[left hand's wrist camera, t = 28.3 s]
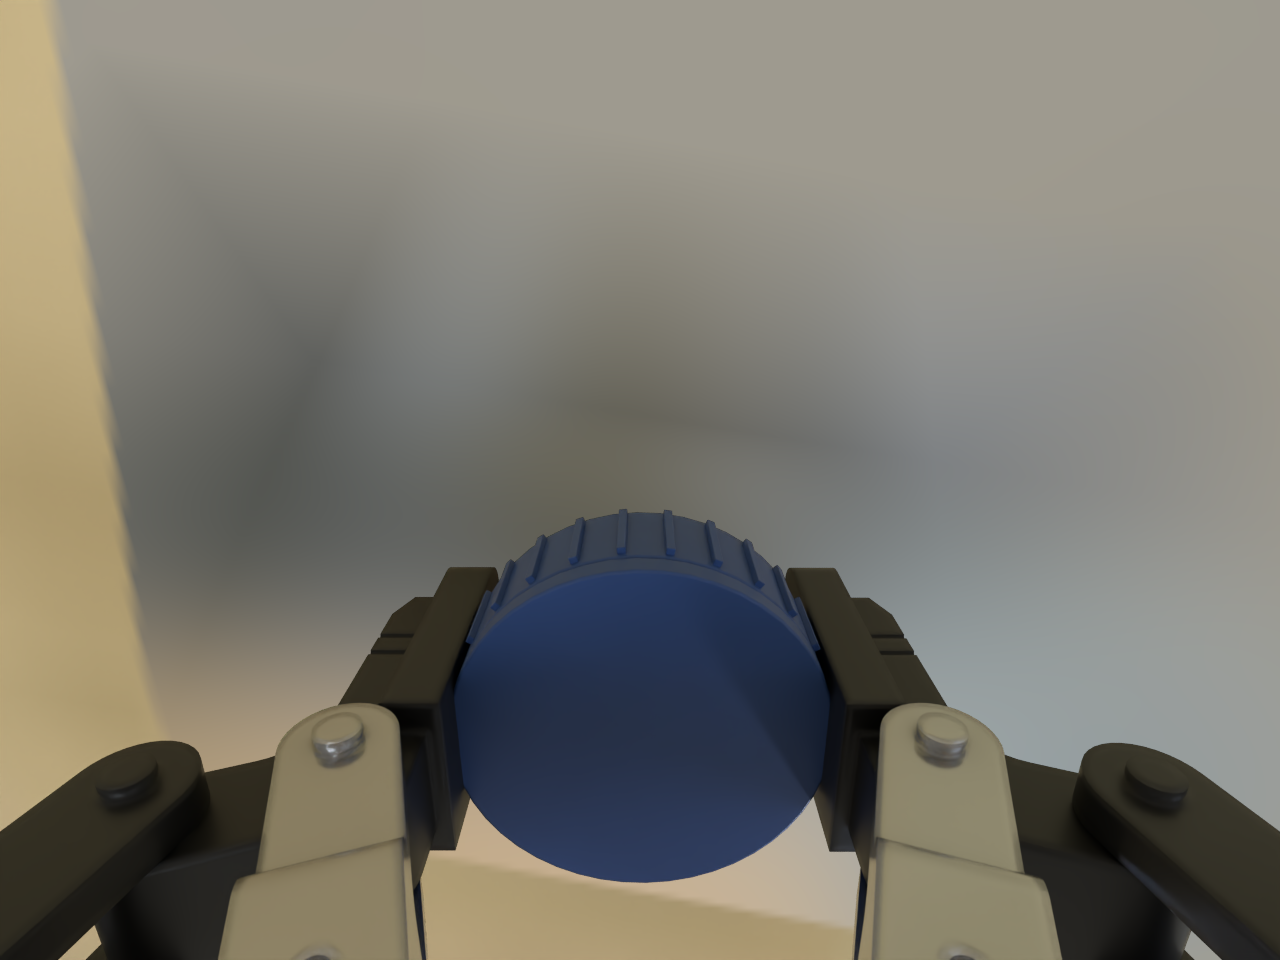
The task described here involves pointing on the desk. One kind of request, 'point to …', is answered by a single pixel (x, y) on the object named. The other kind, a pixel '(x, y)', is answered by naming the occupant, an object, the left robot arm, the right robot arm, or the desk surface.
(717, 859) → the lid
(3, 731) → the desk surface
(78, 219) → the desk surface
